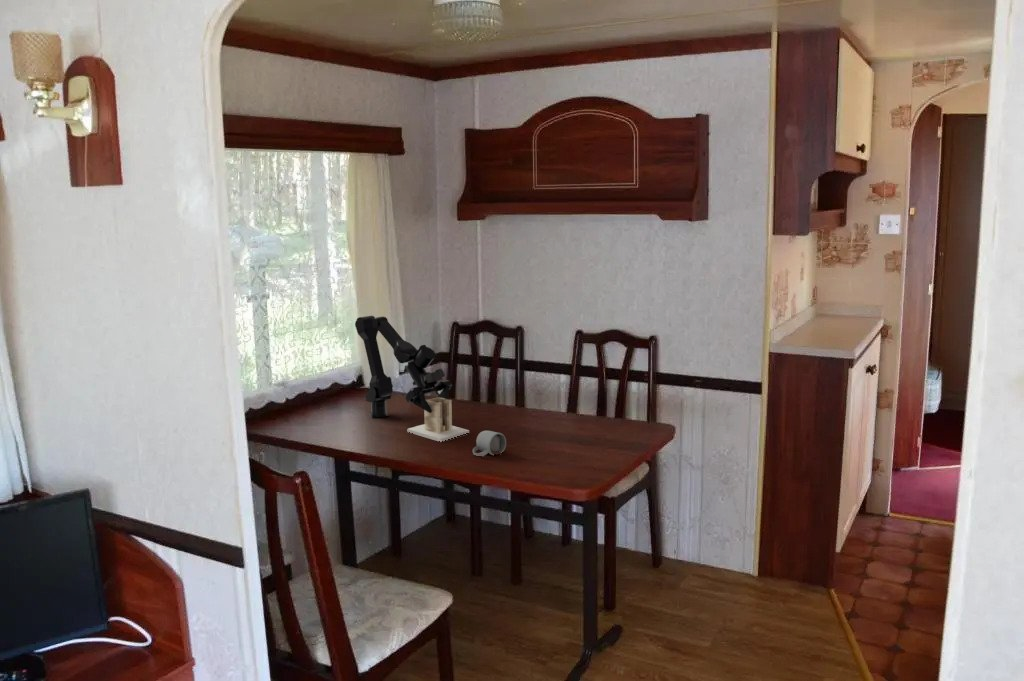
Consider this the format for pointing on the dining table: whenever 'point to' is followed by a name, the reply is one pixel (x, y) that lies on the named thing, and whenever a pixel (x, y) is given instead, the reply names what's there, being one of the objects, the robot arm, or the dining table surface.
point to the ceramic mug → (489, 443)
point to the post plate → (440, 436)
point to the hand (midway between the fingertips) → (440, 409)
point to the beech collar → (438, 415)
